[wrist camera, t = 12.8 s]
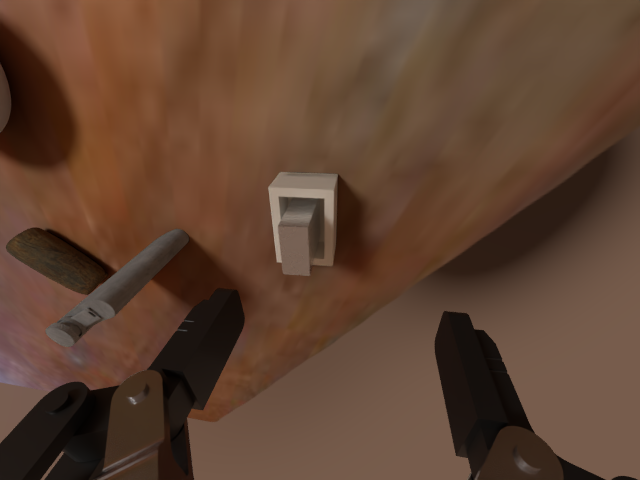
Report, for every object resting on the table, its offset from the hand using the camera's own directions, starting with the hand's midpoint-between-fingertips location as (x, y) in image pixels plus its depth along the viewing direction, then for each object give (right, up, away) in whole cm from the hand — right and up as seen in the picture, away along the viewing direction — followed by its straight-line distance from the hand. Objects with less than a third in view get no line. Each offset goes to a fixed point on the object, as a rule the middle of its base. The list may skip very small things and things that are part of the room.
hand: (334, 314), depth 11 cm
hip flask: (-31, +1, +41) cm, 51 cm away
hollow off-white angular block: (-2, +8, +32) cm, 33 cm away
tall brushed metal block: (-2, +7, +31) cm, 31 cm away
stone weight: (-49, 0, +45) cm, 66 cm away
